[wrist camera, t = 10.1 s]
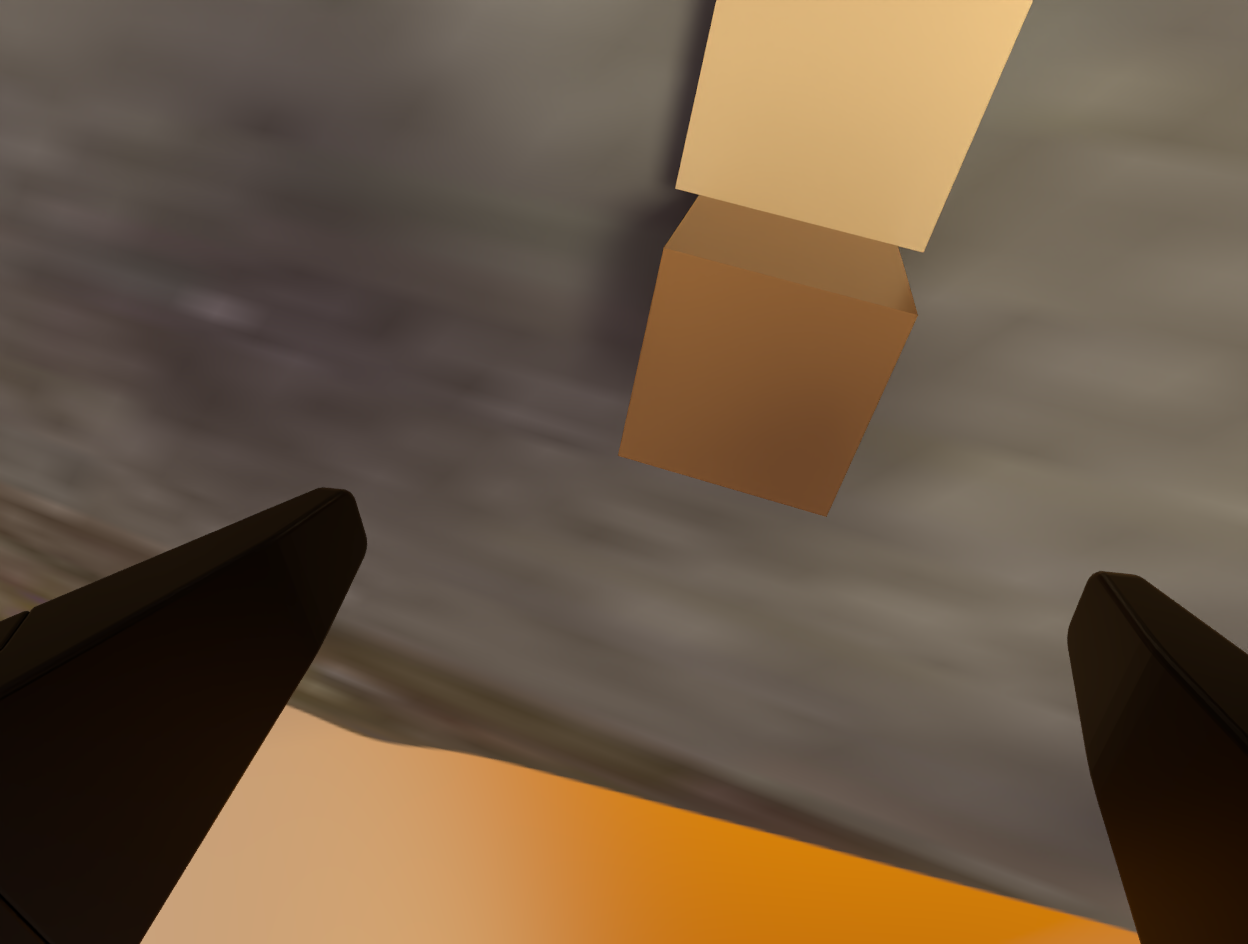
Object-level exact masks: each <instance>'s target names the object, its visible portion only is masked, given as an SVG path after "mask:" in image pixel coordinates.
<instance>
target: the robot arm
mask: <svg viewBox="0 0 1248 944" xmlns="http://www.w3.org/2000/svg"><path fill="white" fill-rule="evenodd" d="M366 549H367V537H366V534H365V530H364V527H363V523H362V520H361V517H360V513H359V510H358V507H357V503H356V500H355V498H354V496H353V495H352V494H351V492H349V491H347V490H344V489H335V488H325V487H322V488H317V489H314V490H312V491H310V492H307V493H305V494H303V495H300V496H298V497H295V498H293V499H291V500H288V501H286V502H284V503H281V504H279V505H276V506H274V507H272V508H269V509H267V510H264V511H262V512H260V513H257V514H255V515H253V516H250V517H248V518H245V519H243V520H241V521H238V522H236V523H234V524H231V525H229V526H226V527H224V528H222V529H219V530H217V531H214V532H212V533H210V534H207V535H205V536H203V537H200V538H198V539H195V540H193V541H191V542H188V543H186V544H184V545H181V546H179V547H176V548H174V549H172V550H169V551H167V552H164V553H162V554H160V555H157V556H155V557H153V558H150V559H148V560H145V561H143V562H141V563H138V564H136V565H134V566H131V567H129V568H126V569H124V570H122V571H119V572H117V573H114V574H112V575H110V576H107V577H105V578H103V579H100V580H98V581H95V582H93V583H91V584H88V585H86V586H84V587H81V588H79V589H76V590H74V591H72V592H69V593H67V594H64V595H62V596H60V597H57V598H55V599H53V600H50V601H48V602H45V603H43V604H41V605H38V606H36V607H34V608H33V609H32V610H31V611H30V612H29V611H24V612H21V613H19V614H16V615H14V616H12V617H9V618H7V619H5V620H2V621H0V944H140V943H141V941H142V939H143V938H144V936H145V934H146V933H147V931H148V929H149V928H150V926H151V925H152V923H153V921H154V920H155V918H156V916H157V915H158V913H159V912H160V910H161V908H162V907H163V905H164V903H165V902H166V900H167V898H168V897H169V895H170V893H171V892H172V890H173V888H174V887H175V885H176V884H177V882H178V880H179V879H180V877H181V876H182V874H183V872H184V870H185V869H186V867H187V866H188V864H189V863H190V861H191V859H192V858H193V856H194V854H195V853H196V851H197V849H198V848H199V846H200V844H201V843H202V841H203V840H204V838H205V836H206V835H207V833H208V831H209V830H210V828H211V827H212V825H213V823H214V822H215V820H216V818H217V817H218V815H219V813H220V812H221V810H222V808H223V807H224V805H225V804H226V802H227V800H228V799H229V797H230V796H231V794H232V792H233V791H234V789H235V787H236V786H237V784H238V782H239V781H240V779H241V777H242V776H243V774H244V773H245V771H246V769H247V768H248V766H249V764H250V763H251V761H252V759H253V758H254V756H255V755H256V753H257V751H258V750H259V748H260V746H261V745H262V743H263V742H264V740H265V738H266V737H267V735H268V733H269V732H270V730H271V729H272V727H273V725H274V724H275V722H276V720H277V719H278V717H279V715H280V714H281V712H282V711H283V709H284V707H285V706H286V704H287V702H288V701H289V699H290V697H291V696H292V694H293V693H294V691H295V689H296V688H297V686H298V684H299V683H300V681H301V680H302V678H303V676H304V675H305V673H306V671H307V670H308V668H309V666H310V665H311V663H312V661H313V660H314V658H315V656H316V654H317V653H318V651H319V649H320V647H321V645H322V643H323V641H324V639H325V638H326V636H327V634H328V632H329V630H330V627H331V625H332V623H333V621H334V619H335V617H336V615H337V613H338V611H339V609H340V607H341V604H342V602H343V600H344V598H345V596H346V594H347V592H348V590H349V588H350V586H351V584H352V582H353V579H354V577H355V575H356V573H357V571H358V569H359V567H360V565H361V563H362V561H363V559H364V556H365V553H366ZM1067 643H1068V651H1069V657H1070V663H1071V669H1072V674H1073V680H1074V686H1075V692H1076V698H1077V704H1078V709H1079V715H1080V721H1081V727H1082V733H1083V739H1084V745H1085V750H1086V756H1087V761H1088V766H1089V771H1090V775H1091V779H1092V783H1093V786H1094V790H1095V794H1096V797H1097V801H1098V804H1099V807H1100V811H1101V814H1102V817H1103V820H1104V824H1105V827H1106V830H1107V834H1108V837H1109V840H1110V844H1111V847H1112V850H1113V854H1114V857H1115V860H1116V864H1117V867H1118V870H1119V873H1120V877H1121V880H1122V883H1123V887H1124V890H1125V893H1126V897H1127V900H1128V903H1129V907H1130V910H1131V913H1132V917H1133V920H1134V923H1135V926H1136V930H1137V933H1138V936H1139V940H1140V943H1141V944H1248V654H1247V653H1245V652H1244V651H1243V650H1241V649H1240V648H1238V647H1237V646H1236V645H1234V644H1233V643H1232V642H1230V641H1229V640H1227V639H1226V638H1225V637H1223V636H1222V635H1221V634H1219V633H1218V632H1216V631H1215V630H1214V629H1212V628H1211V627H1210V626H1208V625H1207V624H1205V623H1204V622H1203V621H1201V620H1200V619H1198V618H1197V617H1196V616H1194V615H1193V614H1192V613H1190V612H1189V611H1187V610H1186V609H1185V608H1183V607H1182V606H1181V605H1179V604H1178V603H1176V602H1175V601H1174V600H1172V599H1171V598H1170V597H1168V596H1167V595H1165V594H1164V593H1163V592H1161V591H1160V590H1159V589H1157V588H1156V587H1154V586H1153V585H1152V584H1150V583H1149V582H1148V581H1146V580H1145V579H1143V578H1141V577H1140V576H1137V575H1133V574H1124V573H1115V572H1105V571H1099V572H1096V573H1094V574H1092V576H1091V577H1090V578H1089V579H1088V581H1087V583H1086V586H1085V588H1084V591H1083V593H1082V595H1081V598H1080V600H1079V603H1078V605H1077V608H1076V610H1075V612H1074V615H1073V617H1072V620H1071V622H1070V625H1069V629H1068V637H1067Z"/></svg>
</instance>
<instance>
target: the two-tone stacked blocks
mask: <svg viewBox="0 0 1248 944" xmlns="http://www.w3.org/2000/svg"><path fill="white" fill-rule="evenodd" d="M1032 1H1033V0H716V4H715V9H714V13H713V18H712V22H711V27H710V32H709V36H708V41H707V45H706V50H705V54H704V59H703V64H702V68H701V73H700V77H699V82H698V87H697V91H696V96H695V100H694V105H693V109H692V114H691V119H690V123H689V128H688V132H687V137H686V141H685V146H684V151H683V155H682V160H681V164H680V169H679V174H678V178H677V183H676V187H675V189H679V190H683V191H687V192H690V193H694V194H698V195H699V196H698V198H697V199H696V201H695V202H694V203H693V205H692V206H691V208H690V209H689V211H688V212H687V214H686V215H685V217H684V218H683V220H682V221H681V223H680V224H679V226H678V227H677V229H676V230H675V232H674V233H673V235H672V236H671V238H670V239H669V241H668V242H667V244H666V245H665V247H664V249H663V253H662V258H661V263H660V267H659V272H658V276H657V281H656V285H655V290H654V294H653V299H652V304H651V308H650V313H649V317H648V322H647V326H646V331H645V335H644V340H643V345H642V349H641V354H640V358H639V363H638V367H637V372H636V376H635V381H634V386H633V390H632V395H631V399H630V404H629V408H628V413H627V417H626V422H625V427H624V431H623V436H622V440H621V445H620V449H619V454H618V456H621V457H625V458H628V459H631V460H635V461H638V462H642V463H645V464H648V465H652V466H655V467H659V468H662V469H665V470H669V471H672V472H676V473H679V474H682V475H686V476H689V477H693V478H696V479H700V480H703V481H706V482H710V483H713V484H717V485H720V486H723V487H727V488H730V489H734V490H737V491H740V492H744V493H747V494H751V495H754V496H757V497H761V498H764V499H768V500H771V501H775V502H778V503H781V504H785V505H788V506H792V507H795V508H798V509H802V510H805V511H809V512H812V513H815V514H819V515H822V516H826V517H827V514H828V512H829V510H830V508H831V506H832V503H833V501H834V499H835V497H836V495H837V492H838V490H839V488H840V486H841V484H842V481H843V479H844V477H845V475H846V473H847V470H848V468H849V466H850V464H851V461H852V459H853V457H854V455H855V453H856V450H857V448H858V446H859V444H860V442H861V439H862V437H863V435H864V433H865V431H866V428H867V426H868V424H869V422H870V420H871V417H872V415H873V413H874V411H875V409H876V406H877V404H878V402H879V400H880V398H881V395H882V393H883V391H884V389H885V387H886V384H887V382H888V380H889V378H890V376H891V373H892V371H893V369H894V367H895V365H896V362H897V360H898V358H899V356H900V353H901V351H902V349H903V347H904V345H905V342H906V340H907V338H908V336H909V334H910V331H911V329H912V327H913V325H914V323H915V320H916V318H917V316H918V314H917V310H916V307H915V303H914V300H913V296H912V293H911V290H910V286H909V283H908V279H907V276H906V272H905V269H904V265H903V262H902V259H901V255H900V252H899V248H898V246H900V247H904V248H908V249H912V250H916V251H920V252H924V250H925V247H926V245H927V243H928V241H929V238H930V236H931V234H932V231H933V229H934V227H935V224H936V222H937V220H938V218H939V215H940V213H941V211H942V208H943V206H944V204H945V201H946V199H947V197H948V195H949V192H950V190H951V188H952V185H953V183H954V181H955V178H956V176H957V174H958V172H959V169H960V167H961V165H962V162H963V160H964V158H965V155H966V153H967V151H968V149H969V146H970V144H971V142H972V139H973V137H974V135H975V132H976V130H977V128H978V126H979V123H980V121H981V119H982V116H983V114H984V112H985V109H986V107H987V105H988V102H989V100H990V98H991V96H992V93H993V91H994V89H995V86H996V84H997V82H998V79H999V77H1000V75H1001V73H1002V70H1003V68H1004V66H1005V63H1006V61H1007V59H1008V56H1009V54H1010V52H1011V50H1012V47H1013V45H1014V43H1015V40H1016V38H1017V36H1018V33H1019V31H1020V29H1021V27H1022V24H1023V22H1024V20H1025V17H1026V15H1027V13H1028V10H1029V8H1030V6H1031V4H1032Z"/></svg>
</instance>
